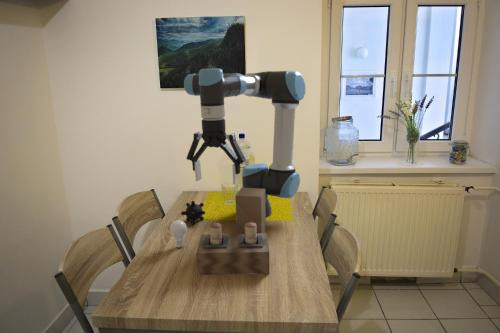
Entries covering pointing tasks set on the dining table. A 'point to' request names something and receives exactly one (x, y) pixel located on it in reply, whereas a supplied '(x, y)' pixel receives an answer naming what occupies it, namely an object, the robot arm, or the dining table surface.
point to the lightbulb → (178, 232)
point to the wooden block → (250, 209)
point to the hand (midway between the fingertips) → (216, 181)
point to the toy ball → (194, 212)
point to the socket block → (233, 255)
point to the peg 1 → (215, 234)
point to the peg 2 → (250, 233)
